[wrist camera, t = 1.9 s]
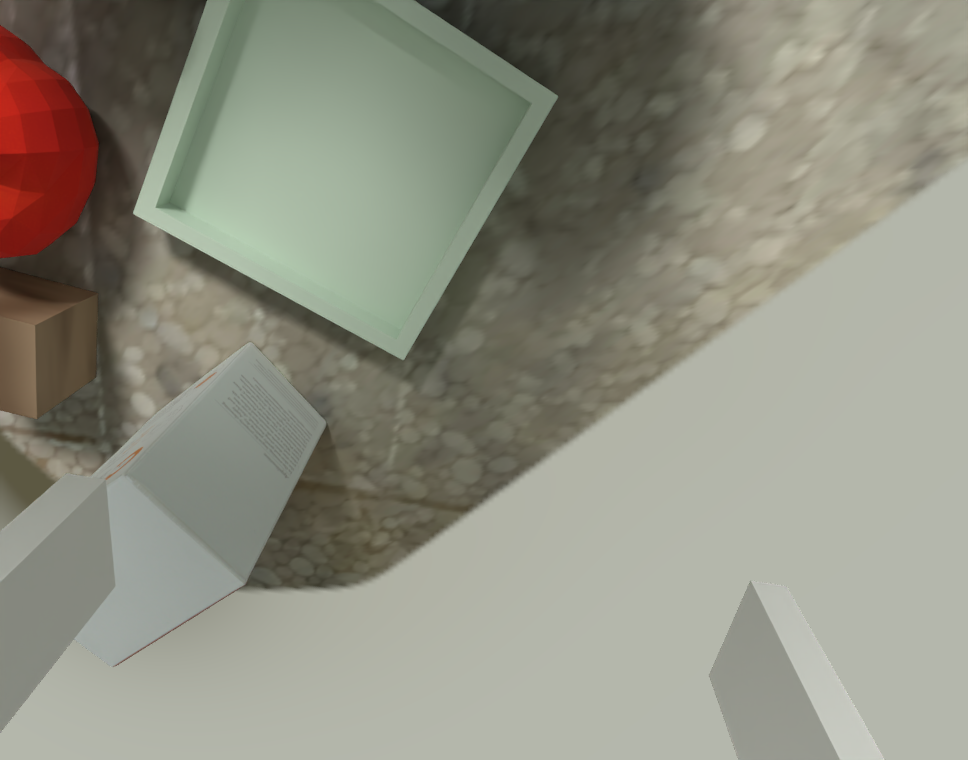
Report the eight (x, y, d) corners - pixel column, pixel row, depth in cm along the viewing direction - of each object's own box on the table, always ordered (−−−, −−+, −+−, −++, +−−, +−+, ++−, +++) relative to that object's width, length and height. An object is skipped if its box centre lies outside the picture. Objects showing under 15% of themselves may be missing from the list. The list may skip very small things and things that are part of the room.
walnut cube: (4, 353, 35) (-71, 392, 31) (0, 266, 33) (-81, 295, 28) (96, 376, 35) (36, 419, 31) (99, 292, 33) (35, 325, 29)
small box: (231, 491, 38) (109, 673, 27) (151, 414, 36) (-20, 574, 24) (332, 423, 36) (248, 587, 24) (253, 337, 34) (119, 470, 22)
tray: (156, 205, 31) (132, 213, 29) (266, -97, 26) (246, -112, 24) (409, 344, 34) (403, 360, 32) (554, 95, 29) (558, 96, 27)
